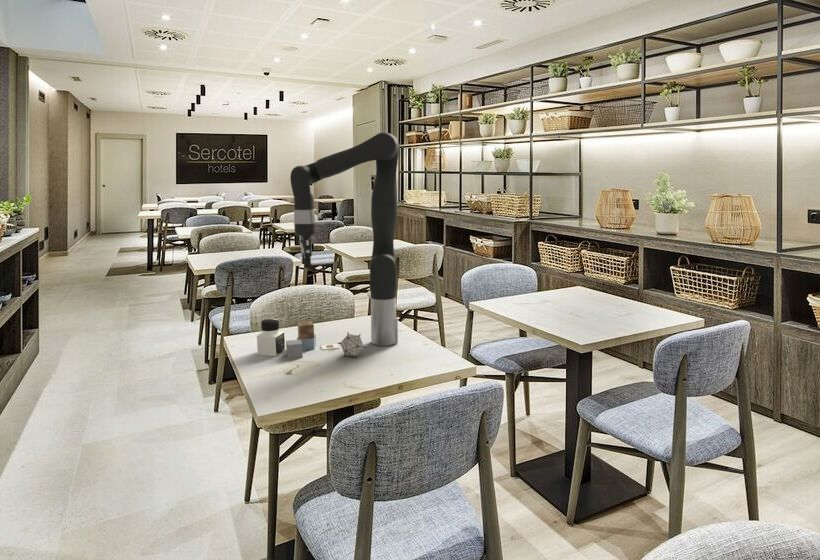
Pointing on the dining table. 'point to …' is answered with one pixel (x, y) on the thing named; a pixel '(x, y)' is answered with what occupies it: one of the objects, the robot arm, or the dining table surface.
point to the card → (329, 346)
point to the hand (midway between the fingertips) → (306, 266)
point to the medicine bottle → (270, 338)
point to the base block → (308, 343)
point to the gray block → (294, 349)
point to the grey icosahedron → (352, 345)
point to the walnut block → (305, 330)
